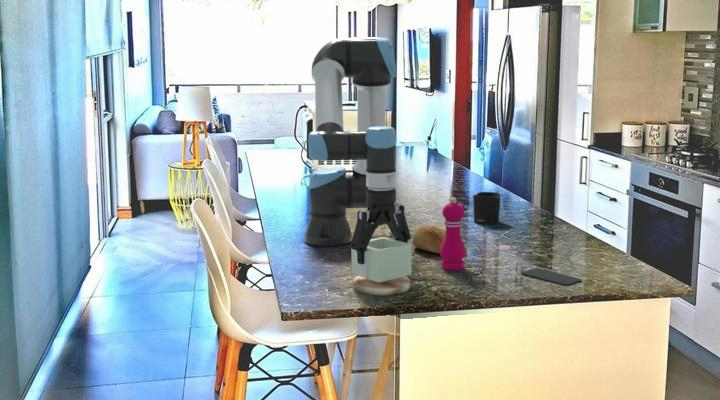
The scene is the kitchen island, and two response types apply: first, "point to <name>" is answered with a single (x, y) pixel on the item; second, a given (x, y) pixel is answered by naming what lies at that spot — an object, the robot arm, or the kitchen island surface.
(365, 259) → the robot arm
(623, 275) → the kitchen island surface
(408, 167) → the kitchen island surface
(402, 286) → the post stand
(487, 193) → the pen holder
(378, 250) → the square ring
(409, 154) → the kitchen island surface
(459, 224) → the pepper mill
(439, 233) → the bread roll
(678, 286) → the kitchen island surface
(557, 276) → the phone
